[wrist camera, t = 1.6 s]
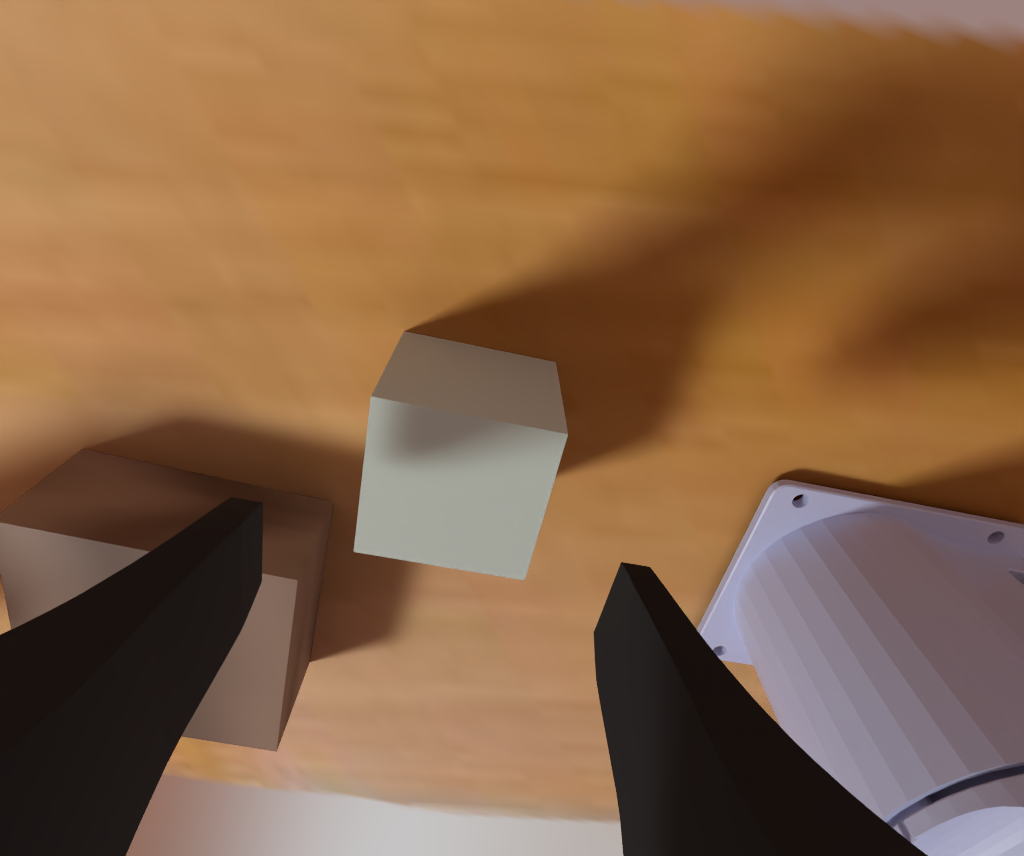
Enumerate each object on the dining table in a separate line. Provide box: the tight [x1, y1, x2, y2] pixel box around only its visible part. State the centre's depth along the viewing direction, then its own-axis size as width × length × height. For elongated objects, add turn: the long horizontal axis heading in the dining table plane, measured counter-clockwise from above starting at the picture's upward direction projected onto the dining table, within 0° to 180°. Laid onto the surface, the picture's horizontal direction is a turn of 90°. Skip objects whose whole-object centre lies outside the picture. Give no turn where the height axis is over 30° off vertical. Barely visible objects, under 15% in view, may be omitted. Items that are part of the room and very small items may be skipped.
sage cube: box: [354, 331, 568, 580], centre depth 16 cm, size 4×4×4 cm
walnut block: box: [0, 449, 334, 751], centre depth 19 cm, size 8×8×4 cm
